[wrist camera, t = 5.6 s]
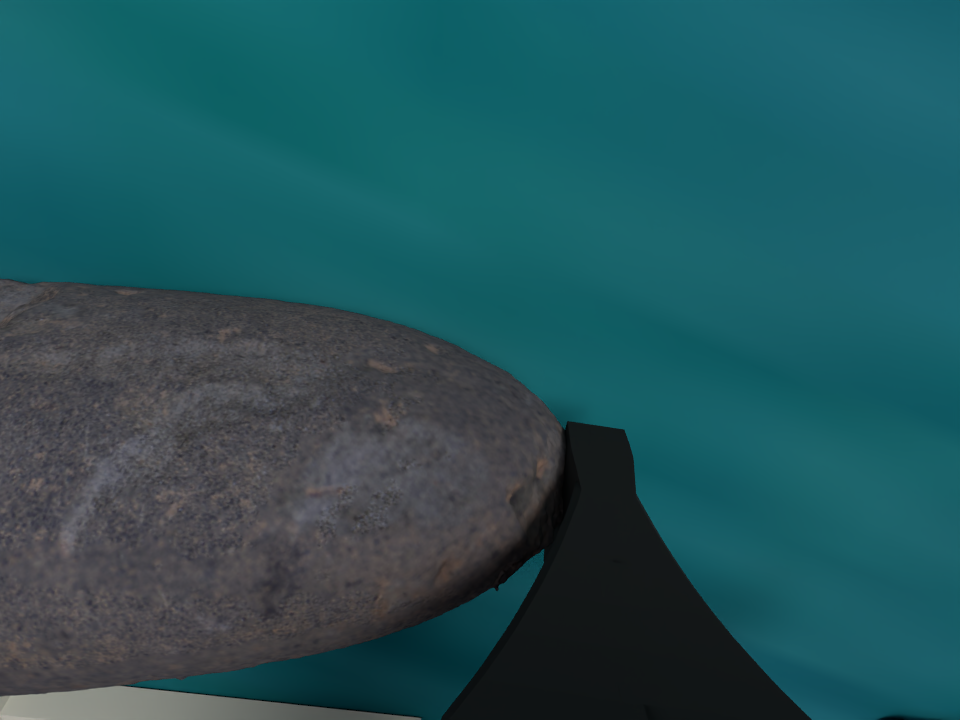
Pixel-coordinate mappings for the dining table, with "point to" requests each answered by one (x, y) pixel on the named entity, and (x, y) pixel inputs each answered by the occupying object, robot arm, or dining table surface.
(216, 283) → the dining table surface
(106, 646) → the perforated stone tool
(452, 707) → the robot arm
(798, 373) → the dining table surface
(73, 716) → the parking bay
